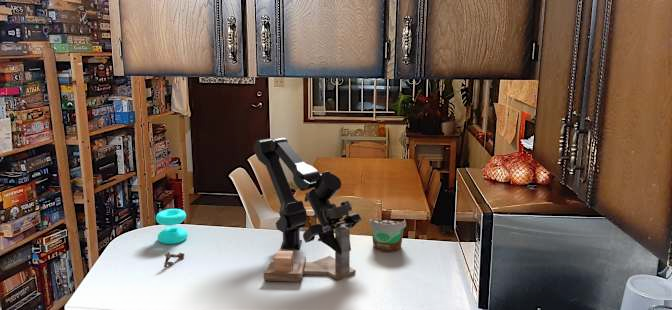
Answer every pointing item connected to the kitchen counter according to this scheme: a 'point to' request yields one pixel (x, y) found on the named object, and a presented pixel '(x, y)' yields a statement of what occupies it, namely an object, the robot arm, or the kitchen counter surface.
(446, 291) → the kitchen counter surface
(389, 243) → the food container
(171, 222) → the donuts
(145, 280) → the kitchen counter surface
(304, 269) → the pull board
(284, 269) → the block
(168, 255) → the dark triangular frame
